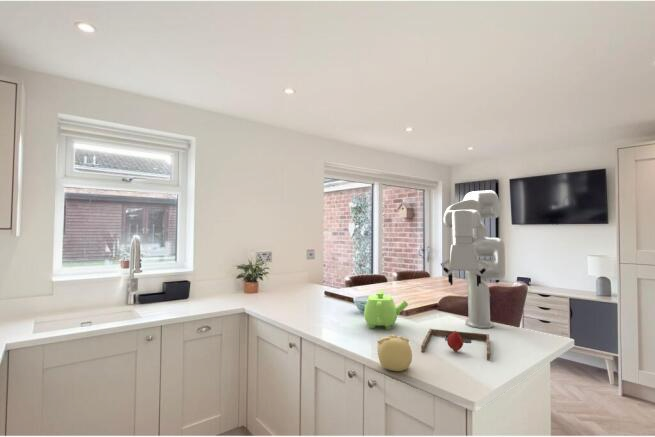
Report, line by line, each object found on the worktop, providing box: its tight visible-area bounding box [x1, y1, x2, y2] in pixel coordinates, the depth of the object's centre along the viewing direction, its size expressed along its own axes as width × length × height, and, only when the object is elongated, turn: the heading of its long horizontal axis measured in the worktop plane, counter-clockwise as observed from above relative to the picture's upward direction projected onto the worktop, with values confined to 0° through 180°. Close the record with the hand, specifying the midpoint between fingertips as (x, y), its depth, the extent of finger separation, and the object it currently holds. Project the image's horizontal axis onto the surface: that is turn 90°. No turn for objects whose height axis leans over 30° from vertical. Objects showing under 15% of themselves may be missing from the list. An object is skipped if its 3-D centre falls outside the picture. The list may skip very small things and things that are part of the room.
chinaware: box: [353, 295, 371, 314], centre depth 198 cm, size 15×15×8 cm
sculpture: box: [377, 334, 413, 372], centre depth 120 cm, size 12×12×11 cm
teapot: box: [363, 289, 409, 330], centre depth 172 cm, size 25×22×16 cm
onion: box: [446, 330, 464, 352], centre depth 133 cm, size 6×6×8 cm
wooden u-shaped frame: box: [420, 328, 491, 361], centre depth 139 cm, size 23×24×2 cm
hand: (464, 285), depth 136 cm, fingers open, 9 cm apart
